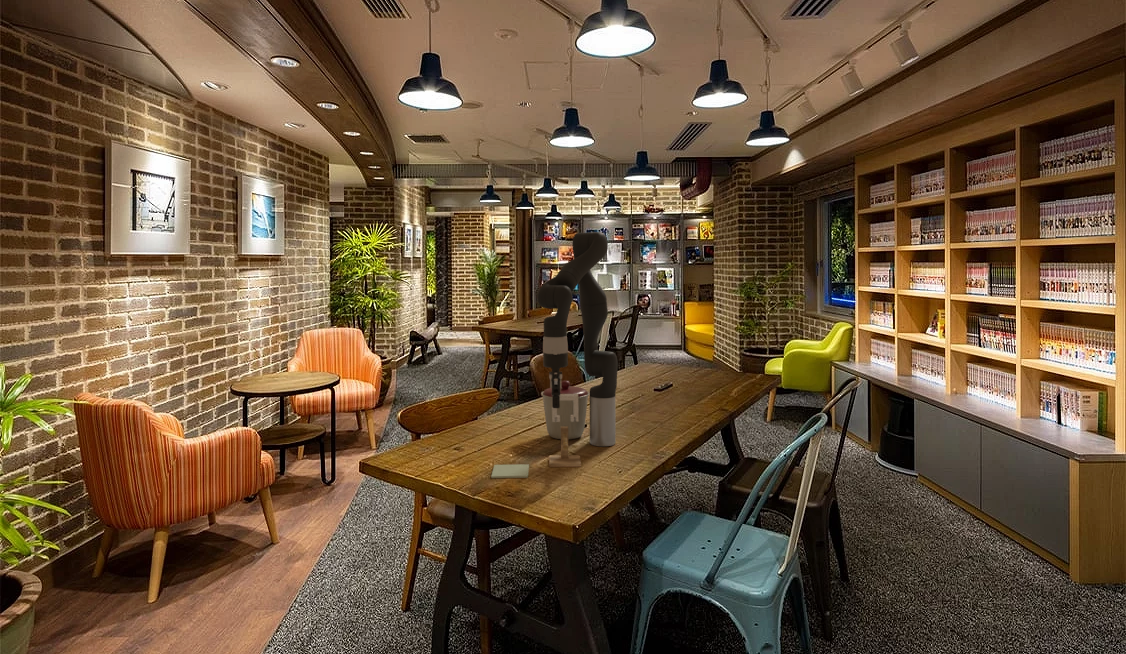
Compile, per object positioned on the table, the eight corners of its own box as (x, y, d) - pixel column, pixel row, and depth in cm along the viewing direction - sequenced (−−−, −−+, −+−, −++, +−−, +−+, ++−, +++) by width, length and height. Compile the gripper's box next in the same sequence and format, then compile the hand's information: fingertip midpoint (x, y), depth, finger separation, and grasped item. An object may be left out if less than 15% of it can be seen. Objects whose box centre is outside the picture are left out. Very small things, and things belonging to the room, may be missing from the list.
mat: (494, 466, 203) (494, 464, 203) (529, 466, 203) (529, 464, 203) (491, 478, 192) (491, 476, 192) (527, 477, 192) (527, 475, 192)
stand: (549, 458, 212) (549, 425, 210) (579, 457, 212) (579, 425, 211) (549, 477, 193) (549, 441, 192) (582, 476, 193) (582, 441, 192)
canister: (590, 443, 229) (590, 385, 227) (540, 443, 230) (539, 385, 228) (589, 430, 247) (589, 376, 245) (542, 430, 248) (542, 376, 246)
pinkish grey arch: (552, 419, 198) (551, 394, 197) (578, 419, 198) (577, 393, 197) (552, 421, 195) (552, 396, 194) (578, 421, 195) (578, 395, 194)
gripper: (543, 348, 201) (544, 401, 203) (542, 354, 187) (543, 412, 189) (567, 347, 201) (567, 401, 203) (568, 354, 187) (568, 411, 189)
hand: (556, 406), depth 196 cm, fingers closed on pinkish grey arch, 3 cm apart
